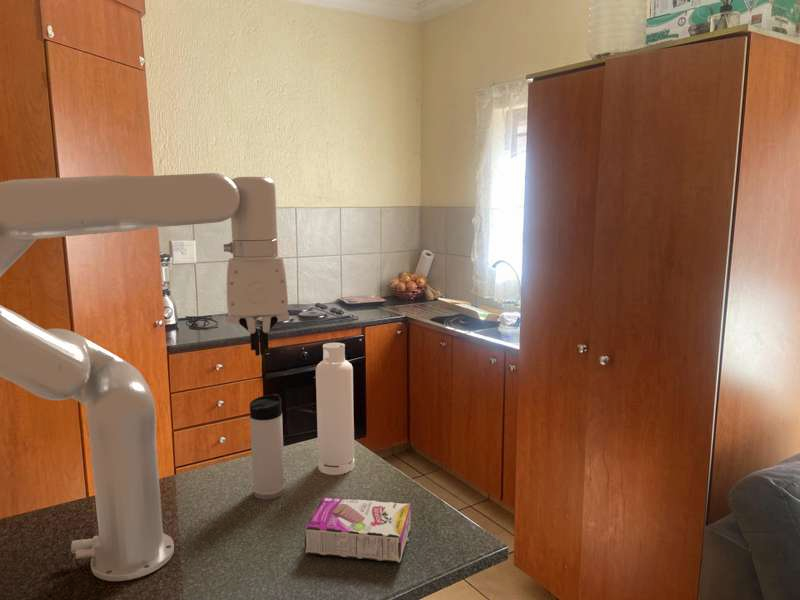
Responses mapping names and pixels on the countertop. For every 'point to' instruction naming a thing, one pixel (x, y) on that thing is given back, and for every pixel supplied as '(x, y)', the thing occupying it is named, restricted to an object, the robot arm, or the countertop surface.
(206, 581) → the countertop surface
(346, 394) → the bottle
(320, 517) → the candy bar box
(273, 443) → the travel mug
